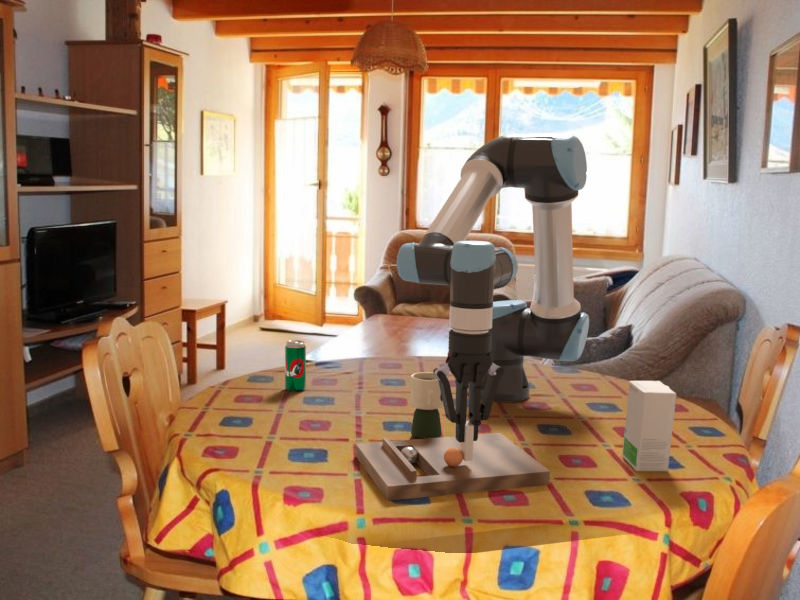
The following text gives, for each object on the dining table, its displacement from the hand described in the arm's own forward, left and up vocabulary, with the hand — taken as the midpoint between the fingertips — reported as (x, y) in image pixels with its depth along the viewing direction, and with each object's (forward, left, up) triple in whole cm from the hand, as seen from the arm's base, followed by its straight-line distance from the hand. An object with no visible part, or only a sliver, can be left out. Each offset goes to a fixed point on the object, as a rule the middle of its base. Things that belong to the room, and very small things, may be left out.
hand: (465, 458), depth 150 cm
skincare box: (-37, +1, -4) cm, 37 cm away
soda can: (+19, -66, -4) cm, 69 cm away
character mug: (-1, -24, -4) cm, 24 cm away
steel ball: (+8, -9, -2) cm, 12 cm away
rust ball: (+2, 0, 0) cm, 2 cm away
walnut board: (+1, -5, -4) cm, 6 cm away
